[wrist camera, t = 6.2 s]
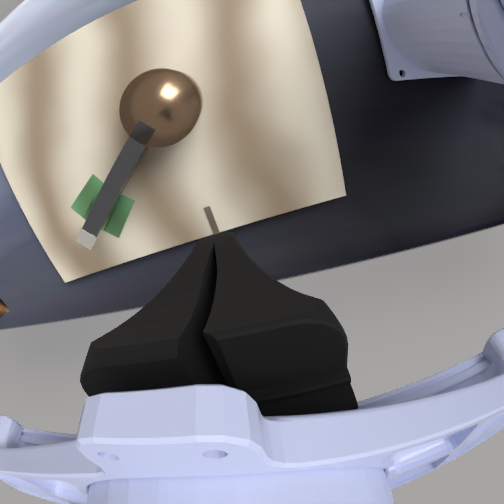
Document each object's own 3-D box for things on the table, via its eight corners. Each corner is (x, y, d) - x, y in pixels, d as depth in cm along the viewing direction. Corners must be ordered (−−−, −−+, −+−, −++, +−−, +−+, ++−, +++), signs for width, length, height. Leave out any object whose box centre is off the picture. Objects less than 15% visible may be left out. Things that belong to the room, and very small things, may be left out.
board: (282, -33, 13) (286, -39, 12) (340, 189, 21) (346, 196, 20) (-13, 99, 14) (-23, 102, 13) (70, 273, 23) (64, 283, 21)
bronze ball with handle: (159, 57, 14) (148, 54, 12) (217, 93, 16) (216, 96, 13) (73, 209, 18) (56, 229, 16) (122, 238, 20) (111, 261, 17)
